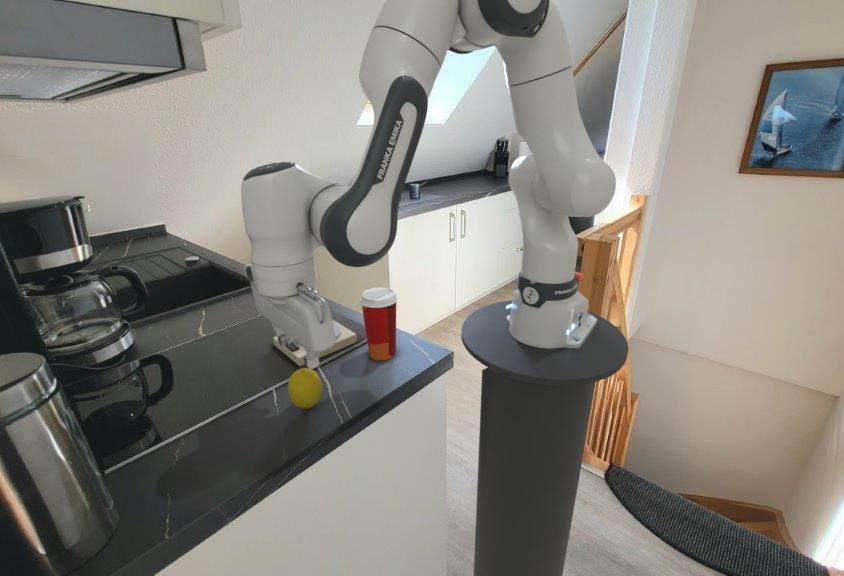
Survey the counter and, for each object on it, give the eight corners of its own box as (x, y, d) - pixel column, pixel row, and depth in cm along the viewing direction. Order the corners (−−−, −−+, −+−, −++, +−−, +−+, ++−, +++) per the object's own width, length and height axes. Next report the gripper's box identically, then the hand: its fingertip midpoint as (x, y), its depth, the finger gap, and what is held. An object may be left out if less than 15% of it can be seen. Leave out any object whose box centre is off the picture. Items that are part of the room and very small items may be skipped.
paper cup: (389, 340, 91) (386, 283, 86) (407, 355, 86) (404, 295, 80) (357, 351, 87) (352, 292, 82) (374, 367, 82) (368, 305, 76)
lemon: (330, 400, 72) (325, 362, 69) (313, 421, 67) (306, 381, 64) (303, 395, 74) (297, 357, 71) (285, 414, 69) (277, 375, 66)
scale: (329, 324, 99) (328, 314, 98) (357, 341, 91) (356, 331, 90) (274, 345, 90) (272, 335, 89) (299, 366, 82) (297, 355, 81)
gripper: (341, 288, 56) (349, 372, 61) (277, 256, 70) (288, 327, 75) (299, 301, 52) (311, 390, 57) (239, 264, 66) (254, 339, 71)
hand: (297, 354), depth 66 cm, fingers open, 8 cm apart
